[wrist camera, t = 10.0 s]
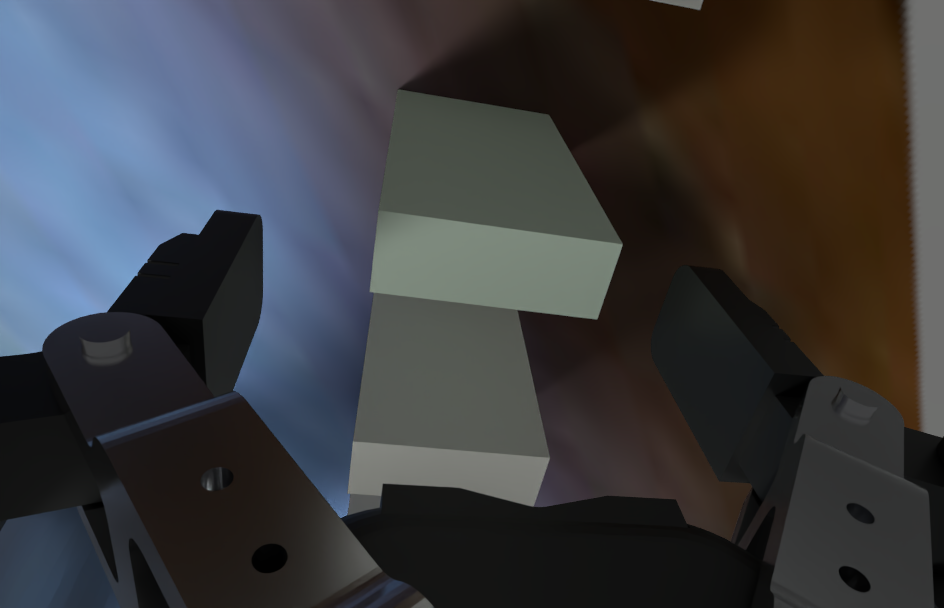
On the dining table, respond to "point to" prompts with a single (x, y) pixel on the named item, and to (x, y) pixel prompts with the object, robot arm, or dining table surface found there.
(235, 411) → the robot arm
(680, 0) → the domino
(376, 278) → the domino
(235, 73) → the dining table surface
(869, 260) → the dining table surface
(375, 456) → the domino
